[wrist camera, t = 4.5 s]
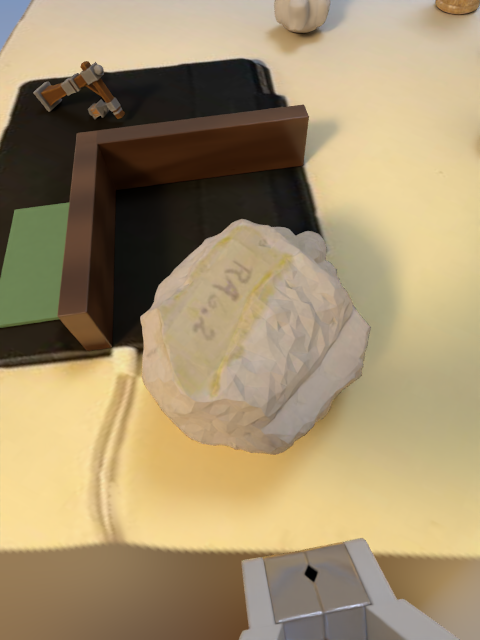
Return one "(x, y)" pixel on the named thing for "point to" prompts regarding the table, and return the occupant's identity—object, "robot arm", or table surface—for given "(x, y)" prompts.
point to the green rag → (33, 265)
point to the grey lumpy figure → (301, 14)
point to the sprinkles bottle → (457, 6)
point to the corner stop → (146, 170)
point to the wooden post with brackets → (89, 75)
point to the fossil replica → (252, 339)
